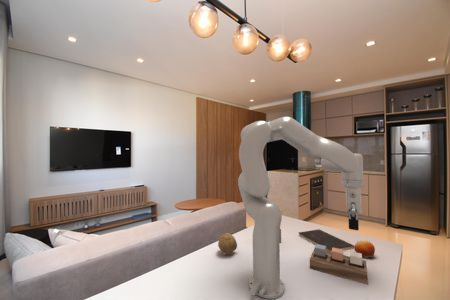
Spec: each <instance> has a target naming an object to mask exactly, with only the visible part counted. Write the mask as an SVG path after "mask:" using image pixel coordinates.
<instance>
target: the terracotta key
mask: <svg viewBox="0 0 450 300" xmlns="http://www.w3.org/2000/svg"><path fill="white" fill-rule="evenodd" d="M343 255H344V250H342V249H338V248H333V247H332V259H336V260H340V261H343Z"/></svg>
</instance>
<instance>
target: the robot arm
mask: <svg viewBox="0 0 450 300" xmlns="http://www.w3.org/2000/svg"><path fill="white" fill-rule="evenodd" d="M240 140H241V141H240V144H239V149H238V158H239V164H240V166H241V167H240V168H241V173H240V174H239V177H238V180H237V183H238V189H239V193H240V196H241V199H242V204H243V208H244V210H245V212H246V213H247V215H248V216H249V217H251V218H252V220H254V226H253V230H252V276H251V277H250V279H249V281H248V286H249V289H250V290H249V294H250V295H251V296H255V295H256V296H257V297H260V298H262V299H268V300H271V299H277V298H279V297H281V296H283V294H284V293H285V291H286V290H285V284H284V282H283V280H282V279H281V263H280V262H281V261H280V259H281V258H280V257H281V256H280V255H281V254H280V243H279V233H280V229H281V223H282V210H281V208H280V206H279V205H278V204H277V202H275V201H273V200H271V199H269V198H267V197H266V196H267V195H268V194H269V193H270V190H271V182H270V179H269V175H268V172H267V169H266V164H265V160H264V149H265V147H266V145H267V143H270V142H276V141H280V140H282V141H285V142H286V143H287V144H289V145H290V146H292V147H293V148H295V149H296V150H297V151H299V152H300V153H302V154H306V155H308V156H311V157H315V158H321V159H320V165H321V167H322V169H324V170H325V171H328V172H334V173H341V187H342V188H345V189H344V190H345V204H346V211H347V213H348V229H349V230H351V231H352V230H353V231H359V228H360V227H359V215H362V214H363V213H362V212H363V210H362V189H364V184H365V183H364V157H363V154H361V153H354V152H352V151H351V150H350V149H349V148H347V147H346V146H344V145H342V144H340V143H338V142H337V141H334V140H331V139H329V138H325V137H323V136H320V135H318V134H316V133H315V132H313V131H311V130H310V129H309V128H307V127H306V126H304V125H303V124H302V123H300V122H299V121H297V120H296V119H294V118H293V117H291V116H282V117H279V118H275V119H272V120H270V121H266V120H256V121H254V122H252V123H250V124H247V125H246V126H244V127H243V128H242V130H241V132H240Z"/></svg>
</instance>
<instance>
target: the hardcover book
mask: <svg viewBox="0 0 450 300" xmlns="http://www.w3.org/2000/svg"><path fill="white" fill-rule="evenodd" d="M298 235H299V237H301V238H302V239H304V240H306V241H307V242H310V243H311V244H313V245H315V246H316V244H319V245H324V246H326V251H327V252H332V247H333V248H338V249H342V250H343V251H347V250H352V249H354V246H355V244H352V243H350V242H348V241H345V240H343V239H341V238H339V237H336V236H334V235H332V234H331V233H328V232H325V231H323V230H321V229H314V230H313V229H312V230H306V231H300V232H298Z"/></svg>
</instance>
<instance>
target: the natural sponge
mask: <svg viewBox="0 0 450 300" xmlns="http://www.w3.org/2000/svg"><path fill="white" fill-rule="evenodd" d="M217 246H218V248H219V250H220V251H221V253H223V254H224V255H226V256H229V255H231V254H232V253H233V252H235V251H236V250H237V248H238V242H237V240H236V238H235V237H234V235H233V234H232V233H229V232H224V233H223V234H222V235H220V237H219V240H218V243H217Z"/></svg>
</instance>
